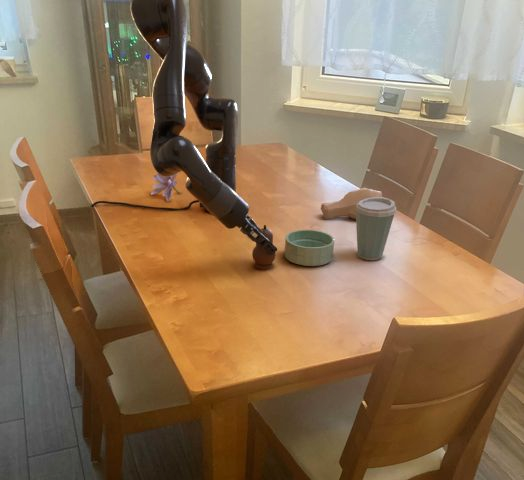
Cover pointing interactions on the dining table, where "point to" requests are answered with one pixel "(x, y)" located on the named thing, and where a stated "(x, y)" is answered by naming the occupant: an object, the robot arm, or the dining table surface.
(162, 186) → the water lily
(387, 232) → the disposable coffee cup
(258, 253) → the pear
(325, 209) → the squash
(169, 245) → the dining table surface
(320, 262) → the bowl
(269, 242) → the robot arm
